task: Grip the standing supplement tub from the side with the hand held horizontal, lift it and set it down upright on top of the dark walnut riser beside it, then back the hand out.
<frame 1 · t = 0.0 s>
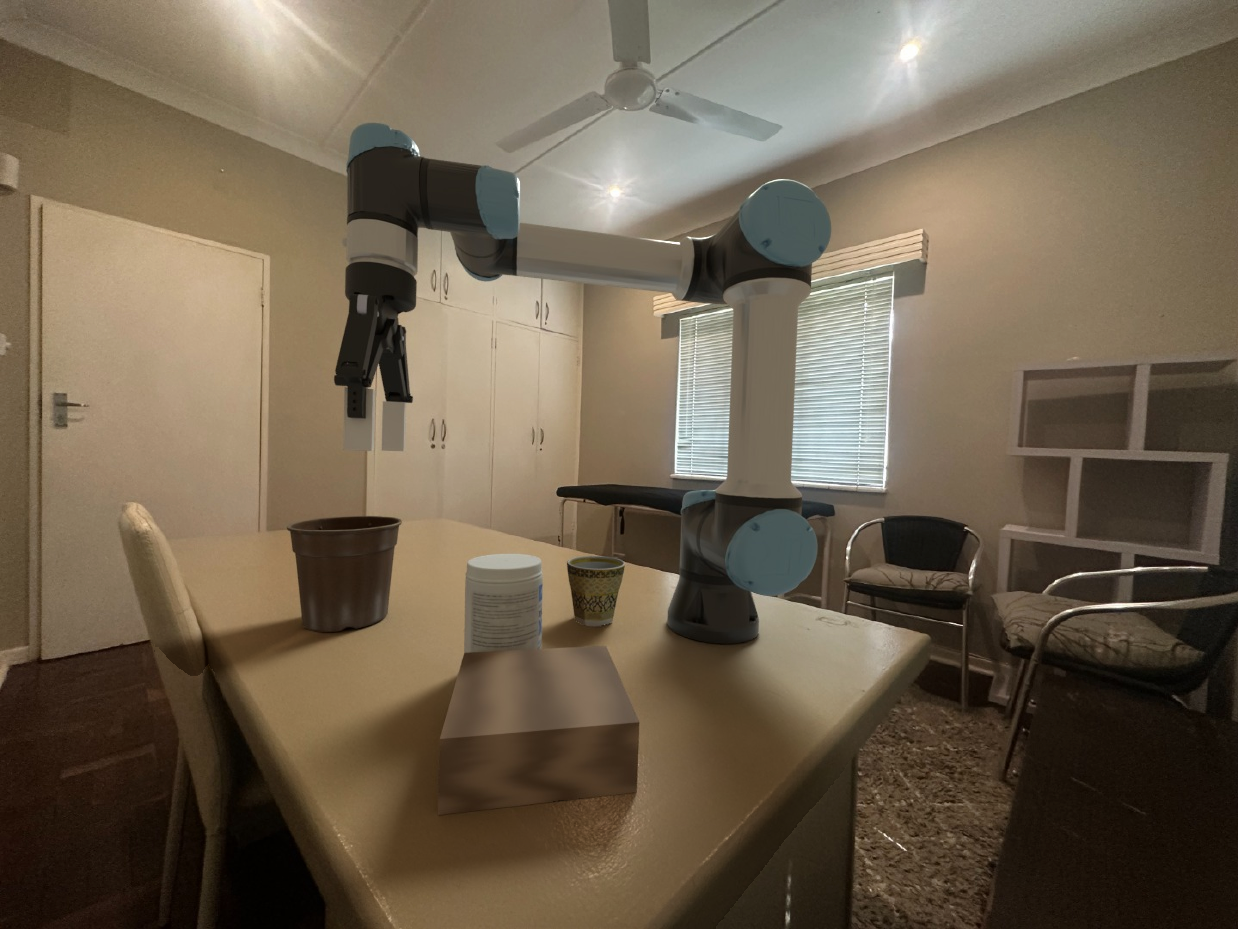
hand: (378, 451, 56), 28 cm above the table, tool pointing down, fingers open, 13 cm apart
ceramic cup: (594, 618, 83), on the table
walnut riser: (538, 743, 46), on the table
supplement tub: (502, 676, 60), on the table
plant pot: (345, 620, 77), on the table
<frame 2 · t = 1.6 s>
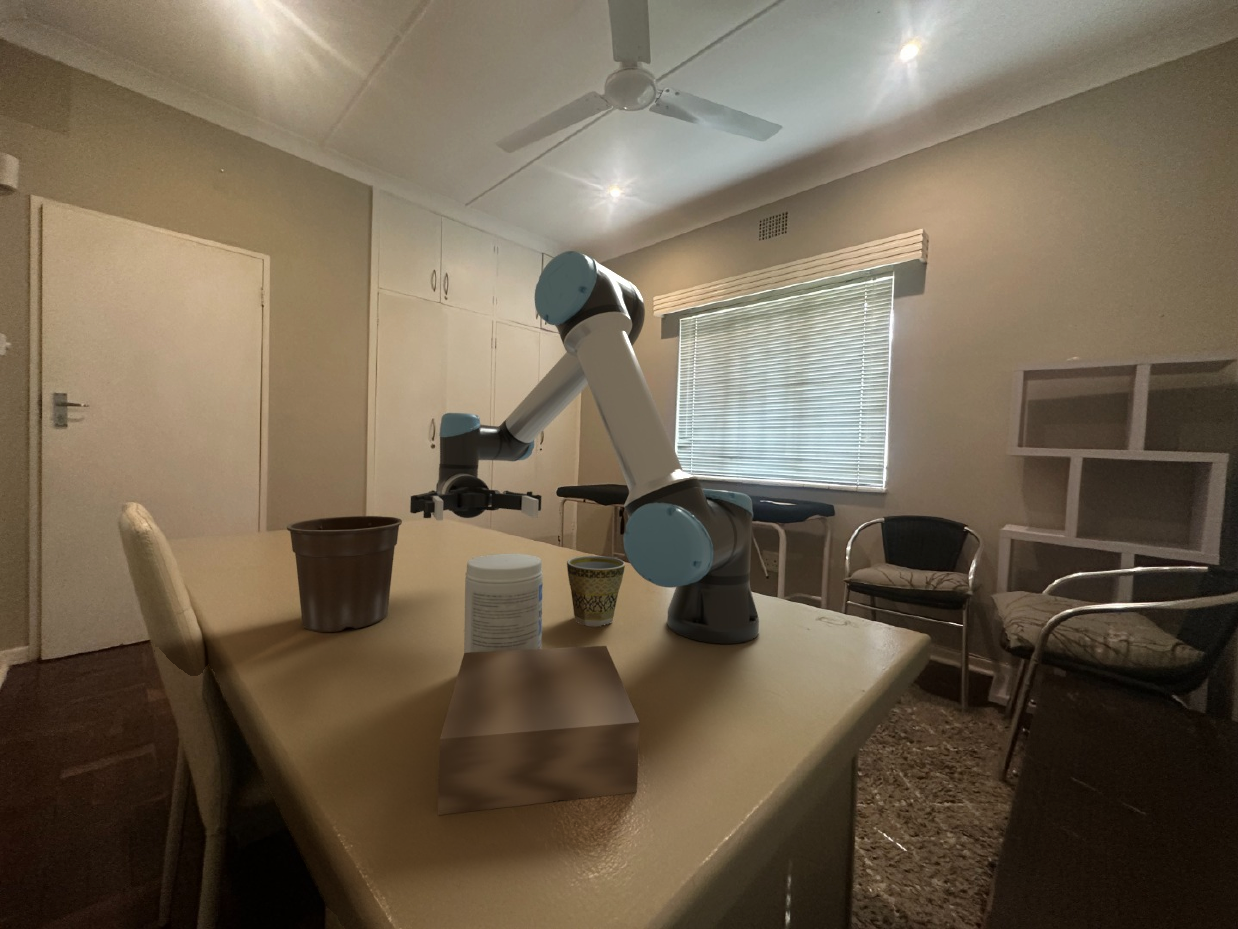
hand: (490, 509, 68), 20 cm above the table, tool horizontal, fingers open, 13 cm apart
nothing on the table moved.
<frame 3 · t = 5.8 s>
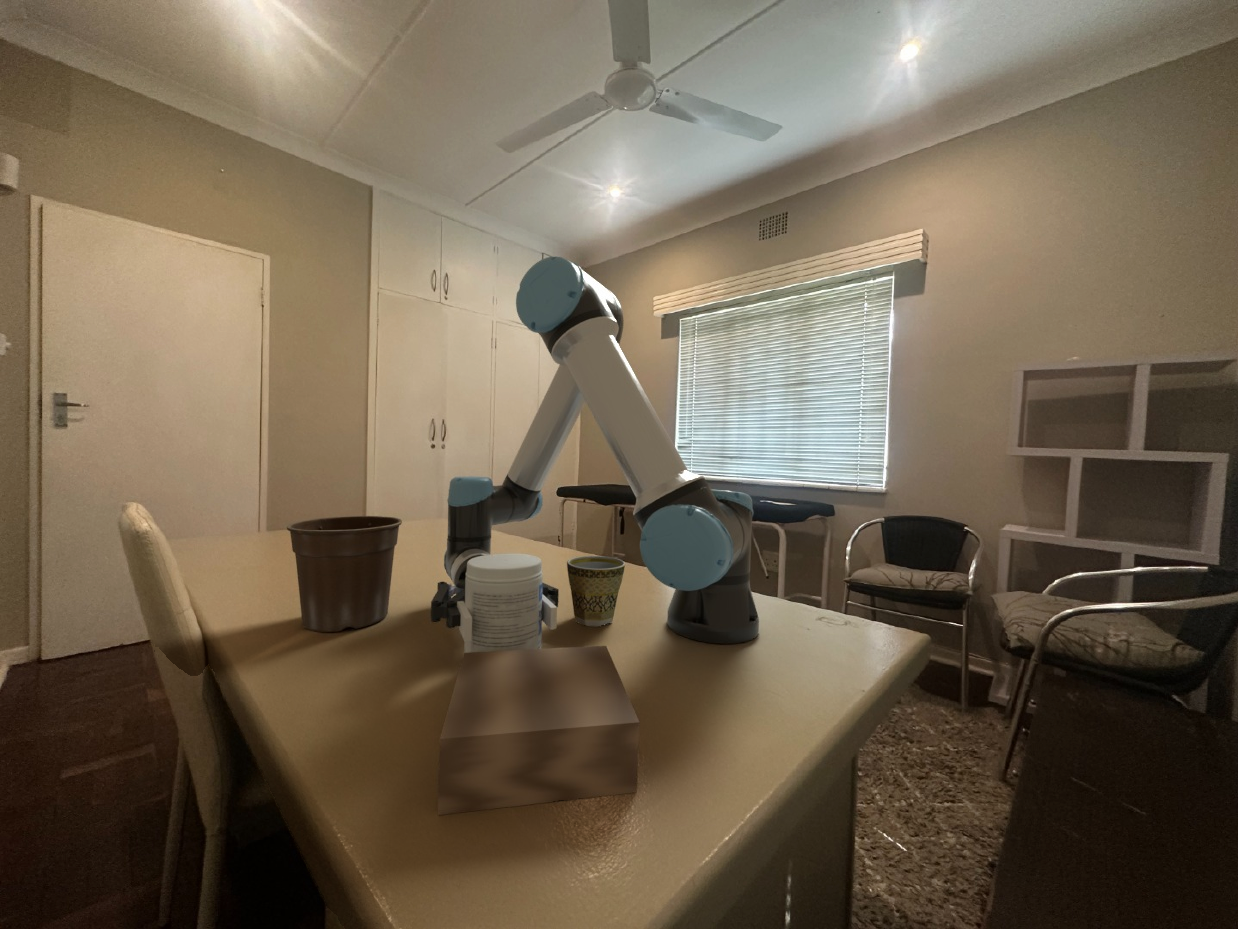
hand: (512, 623, 56), 8 cm above the table, tool horizontal, fingers closed on supplement tub, 9 cm apart
supplement tub: (502, 676, 60), on the table, touching gripper
everything else where it was.
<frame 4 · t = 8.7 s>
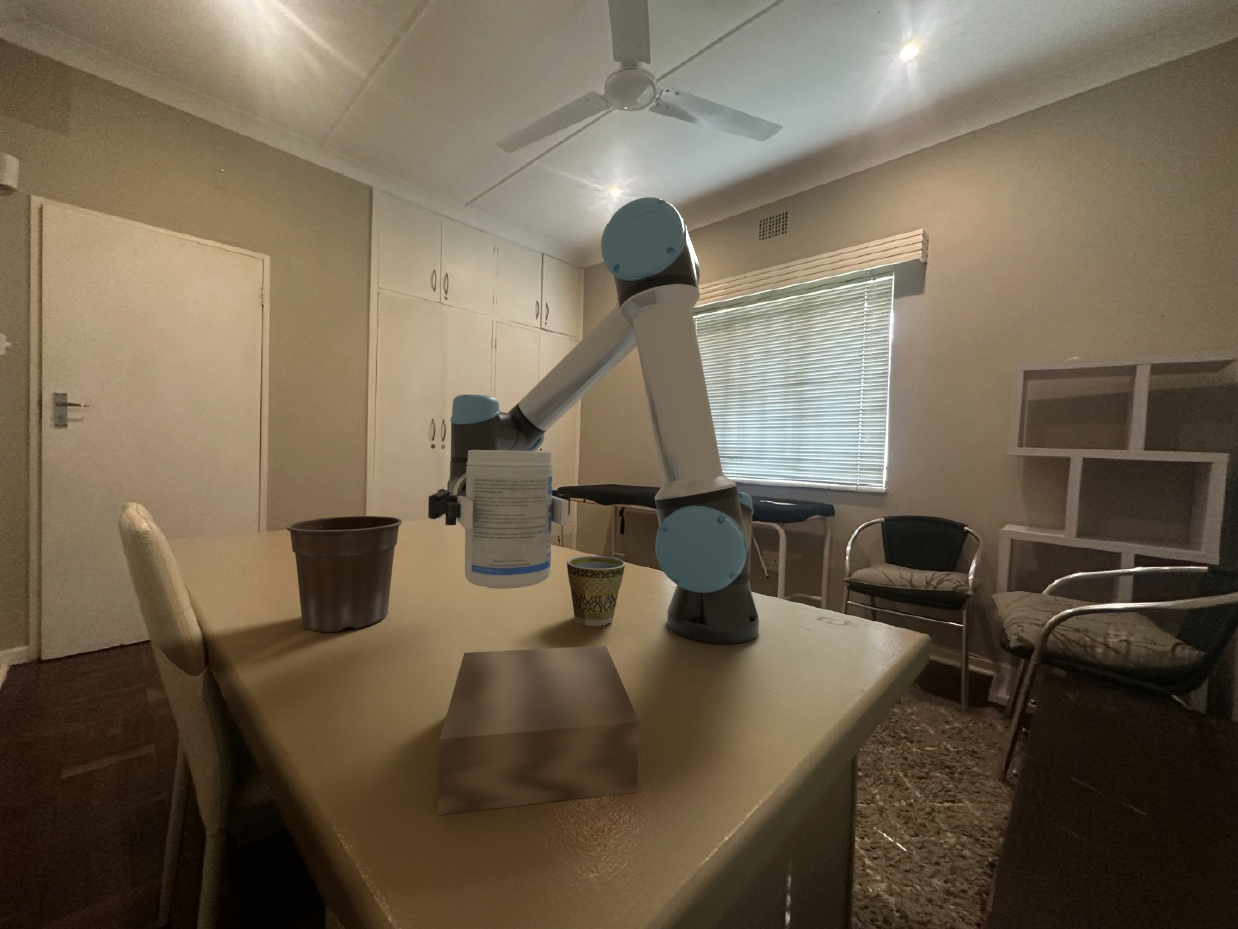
hand: (519, 514, 50), 22 cm above the table, tool horizontal, fingers closed on supplement tub, 9 cm apart
supplement tub: (507, 581, 54), point 14 cm above the table, touching gripper
everything else where it was.
when the fingers open (15 cm above the table, at t = 11.4 s): supplement tub drops 1 cm, resting on walnut riser.
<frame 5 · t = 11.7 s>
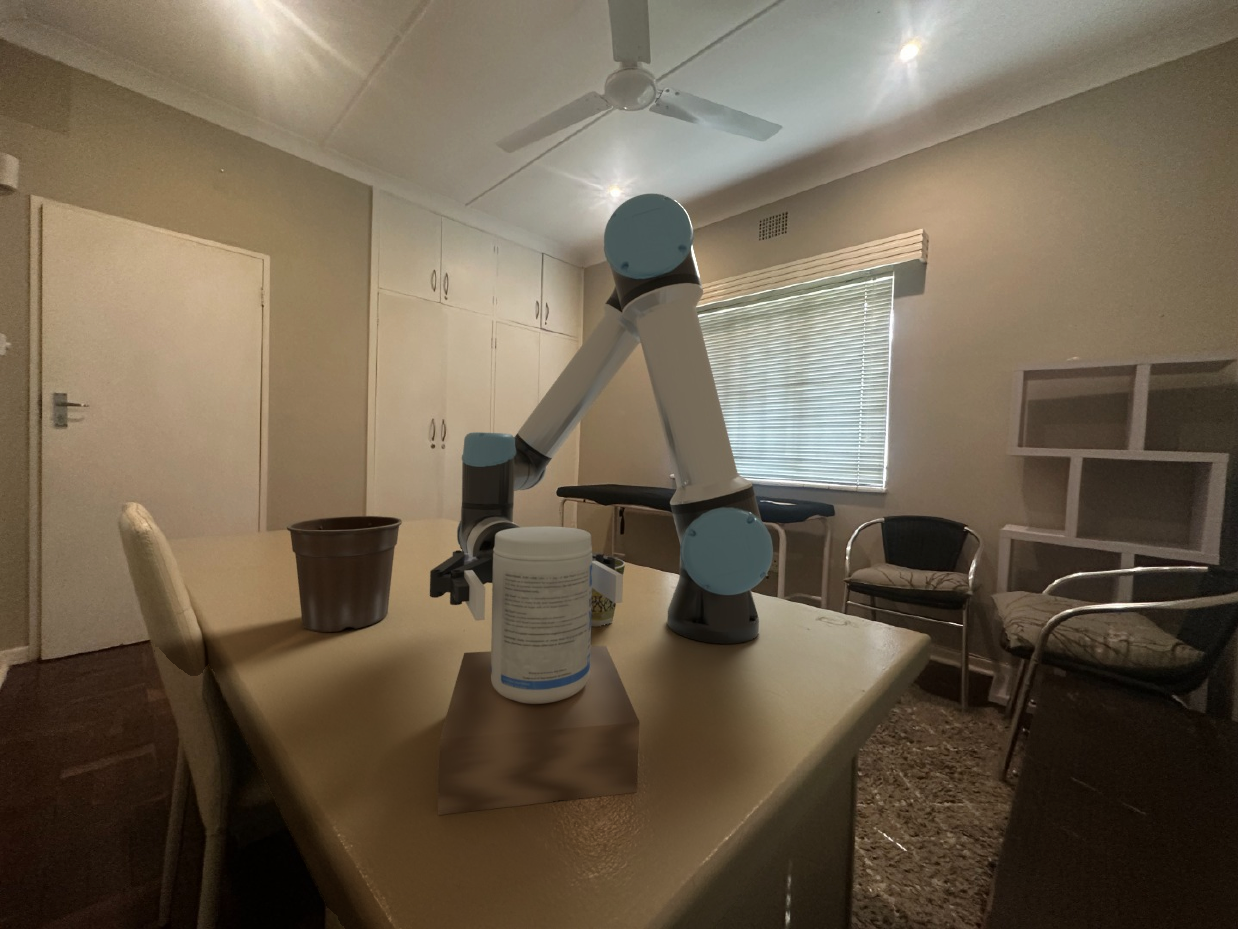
hand: (554, 596, 43), 15 cm above the table, tool horizontal, fingers open, 12 cm apart
supplement tub: (539, 684, 46), point 6 cm above the table, touching walnut riser
everything else where it was.
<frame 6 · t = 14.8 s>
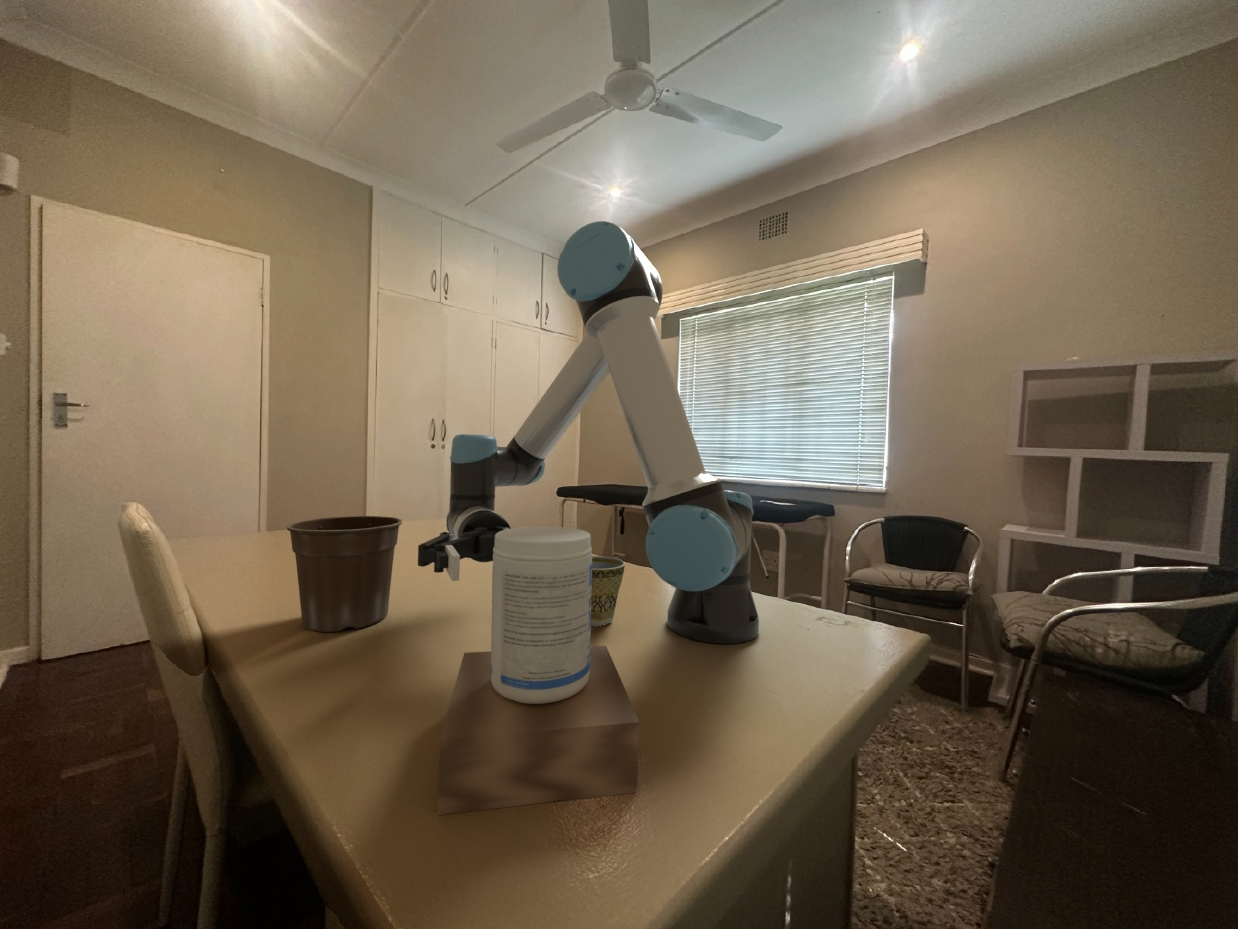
hand: (517, 564, 54), 16 cm above the table, tool horizontal, fingers open, 13 cm apart
nothing on the table moved.
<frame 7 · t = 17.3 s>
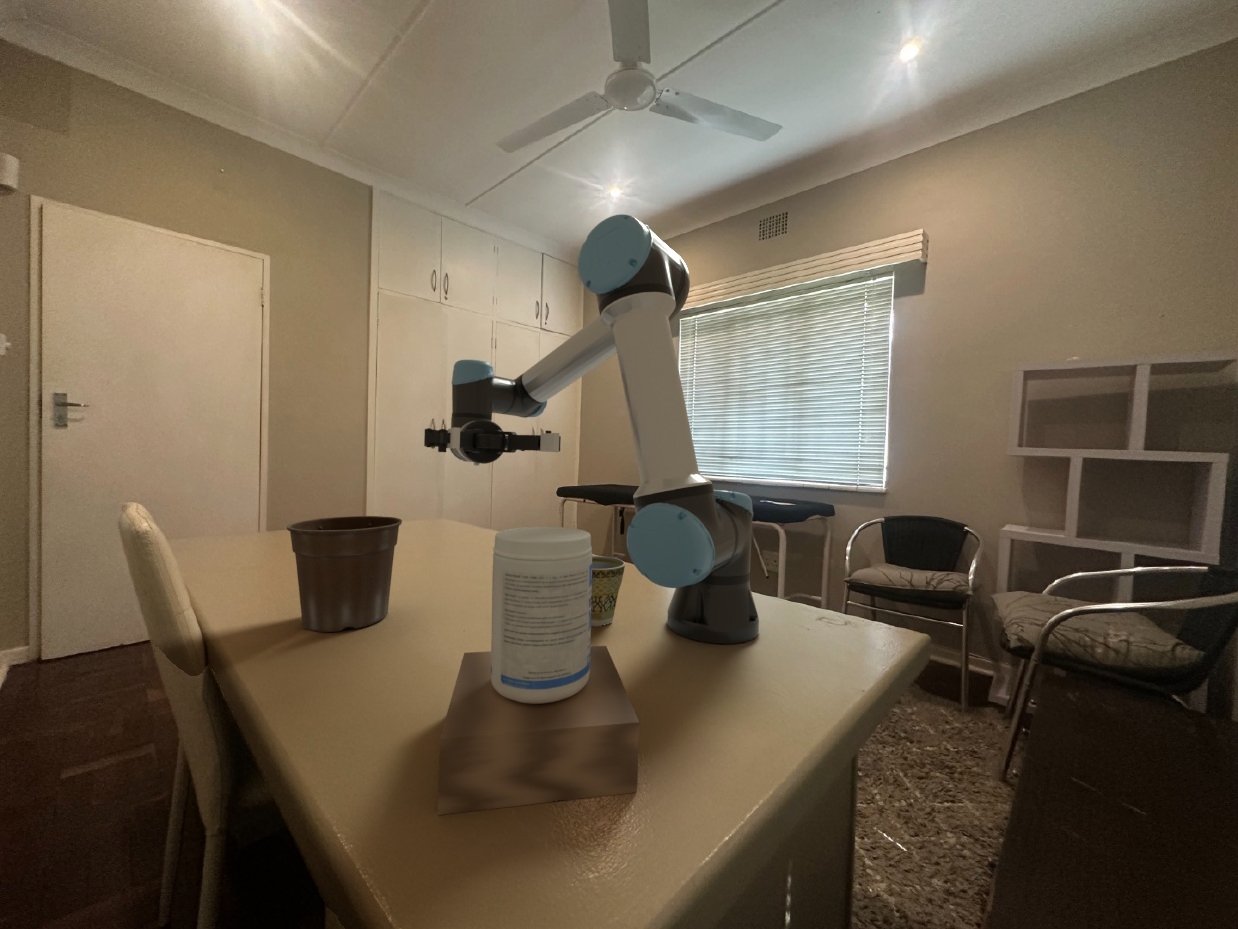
hand: (509, 440, 64), 30 cm above the table, tool horizontal, fingers open, 13 cm apart
nothing on the table moved.
at the end: supplement tub inside the target area on the walnut riser (0.1 cm from its centre), point 5.8 cm above the walnut riser's base; supplement tub tilted 0°; the gripper is holding nothing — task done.
